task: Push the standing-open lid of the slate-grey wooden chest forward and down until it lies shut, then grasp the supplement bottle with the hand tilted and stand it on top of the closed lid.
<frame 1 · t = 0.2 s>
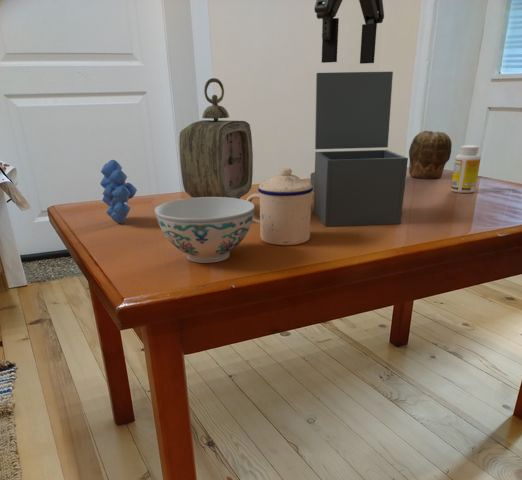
hand: (348, 63, 95), 27 cm above the table, tool pointing down, fingers open, 13 cm apart
decorative stone: (337, 193, 124), on the table
brown rounded lump: (426, 177, 142), on the table
chest: (354, 217, 102), on the table
grapes: (124, 223, 101), on the table
chest lid: (350, 111, 100), point 19 cm above the table, hinge at 95.0°
chinaware: (208, 257, 80), on the table
teacup with lid: (277, 239, 89), on the table
tabletop clock: (219, 214, 106), on the table
supplement bottle: (462, 192, 123), on the table
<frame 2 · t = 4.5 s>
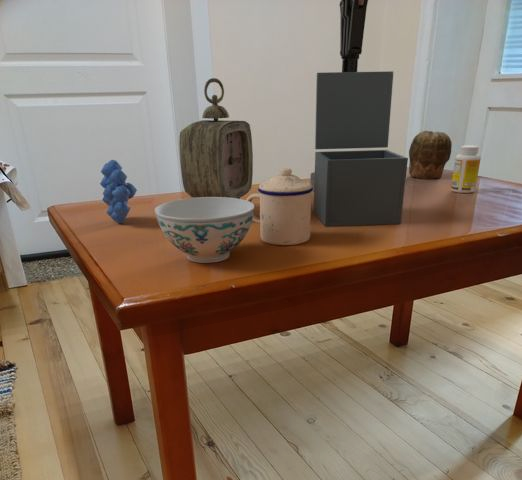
hand: (348, 96, 102), 21 cm above the table, tool pointing down, fingers closed
chest lid: (350, 111, 100), point 19 cm above the table, hinge at 93.4°, touching gripper
everything else where it was.
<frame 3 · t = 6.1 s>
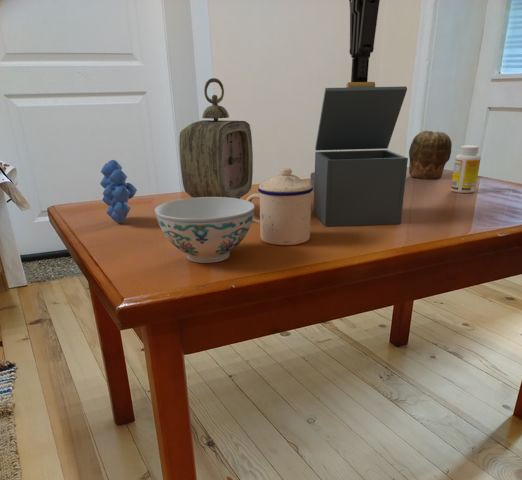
hand: (358, 98, 95), 21 cm above the table, tool pointing down, fingers closed
chest lid: (356, 113, 96), point 19 cm above the table, hinge at 53.1°
everything else where it was.
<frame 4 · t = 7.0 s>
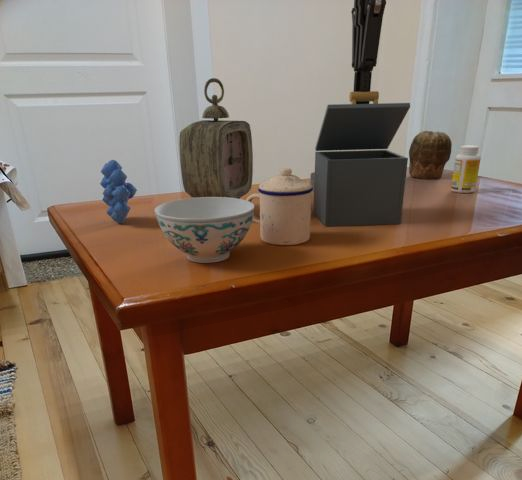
hand: (360, 111, 94), 19 cm above the table, tool pointing down, fingers closed
chest lid: (358, 119, 95), point 18 cm above the table, hinge at 37.1°, touching gripper
everything else where it was.
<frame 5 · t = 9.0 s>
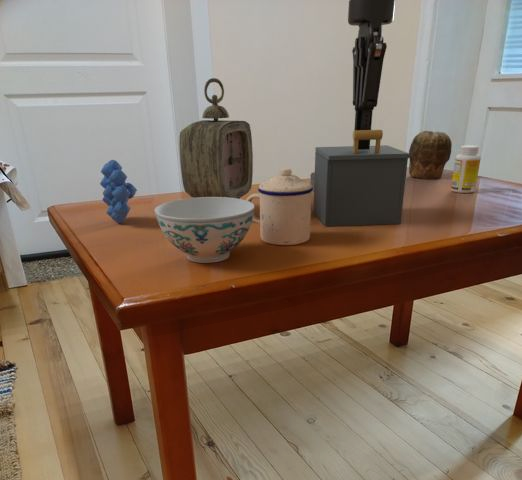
hand: (361, 149, 94), 13 cm above the table, tool pointing down, fingers closed
chest lid: (360, 141, 95), point 14 cm above the table, hinge at 0.1°, touching gripper
everything else where it was.
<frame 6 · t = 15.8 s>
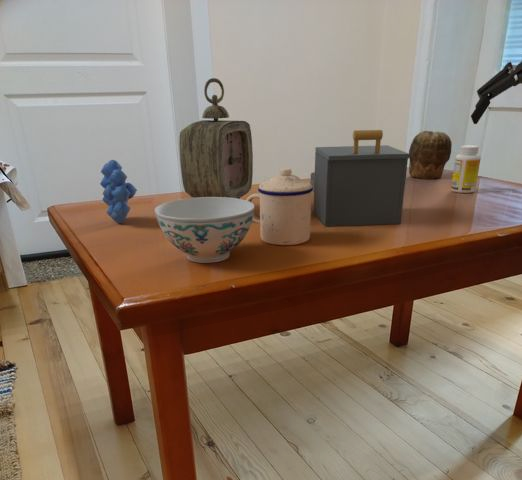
hand: (498, 121, 121), 15 cm above the table, tool tilted 45°, fingers open, 13 cm apart
chest lid: (360, 141, 95), point 14 cm above the table, hinge at -0.1°
everything else where it was.
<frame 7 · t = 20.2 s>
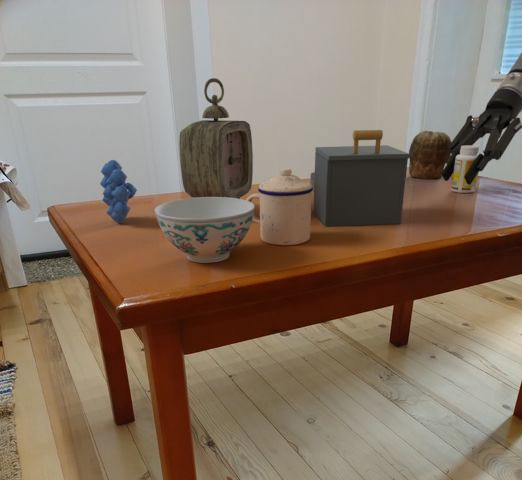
hand: (455, 178, 120), 3 cm above the table, tool tilted 45°, fingers closed on supplement bottle, 6 cm apart
supplement bottle: (462, 192, 123), on the table, touching gripper
everything else where it was.
when the fingers open (16 cm above the table, at t = 30.7 s): supplement bottle stays where it is, resting on chest lid.
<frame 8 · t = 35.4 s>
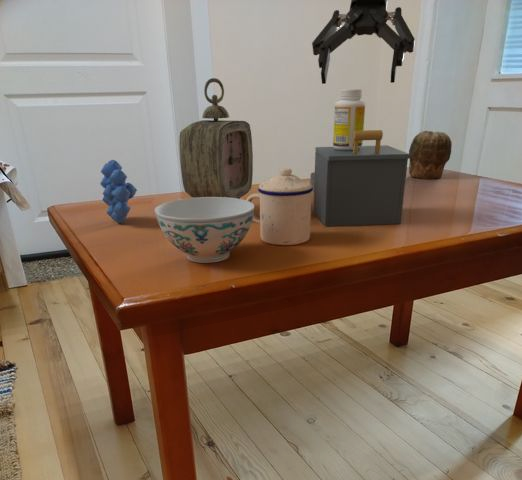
hand: (357, 77, 100), 25 cm above the table, tool tilted 45°, fingers open, 13 cm apart
chest lid: (360, 141, 95), point 14 cm above the table, hinge at -0.2°, touching chest, supplement bottle
supplement bottle: (347, 150, 97), point 12 cm above the table, touching chest lid
everything else where it was.
at the end: chest lid at +0° (first picture: +95°); supplement bottle inside the target area on the chest (1.9 cm from its centre), point 12.4 cm above the chest's base; supplement bottle tilted 0° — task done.
